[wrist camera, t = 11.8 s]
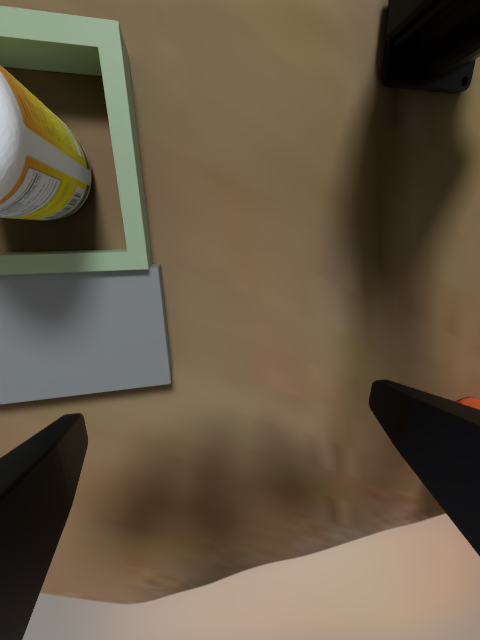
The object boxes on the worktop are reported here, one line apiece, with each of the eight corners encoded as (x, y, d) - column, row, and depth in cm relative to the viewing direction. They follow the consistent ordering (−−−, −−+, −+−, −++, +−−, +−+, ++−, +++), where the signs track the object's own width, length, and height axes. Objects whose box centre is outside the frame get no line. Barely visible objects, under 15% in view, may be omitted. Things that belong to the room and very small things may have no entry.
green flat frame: (138, 56, 14) (130, 22, 12) (171, 369, 20) (170, 387, 18) (-142, 26, 12) (-220, -23, 10) (-10, 390, 18) (-39, 413, 16)
